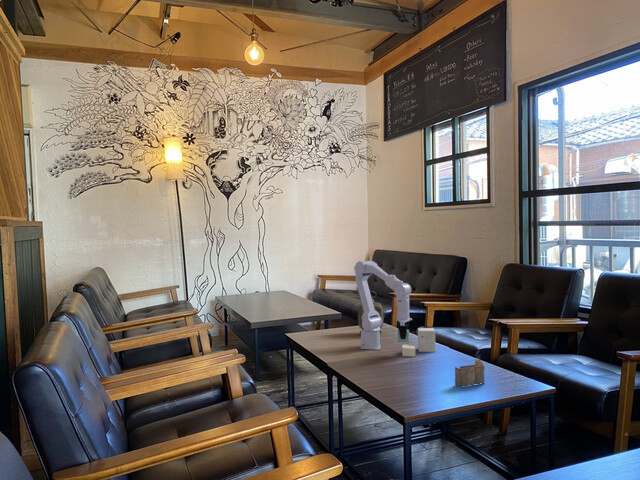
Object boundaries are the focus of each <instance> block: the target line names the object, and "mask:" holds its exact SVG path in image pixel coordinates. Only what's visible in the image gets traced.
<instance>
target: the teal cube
mask: <svg viewBox="0 0 640 480" xmlns="http://www.w3.org/2000/svg"><path fill="white" fill-rule="evenodd" d="M409 341H410V329H407V333H406V338H405V339H401V338H400V333H399V329H398V328H397V342H398V343H406V344H407V343H409Z"/></svg>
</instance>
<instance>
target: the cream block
mask: <svg viewBox="0 0 640 480" xmlns="http://www.w3.org/2000/svg"><path fill="white" fill-rule="evenodd" d="M401 349H402V354H401V356H402V357H416V345H415V344H402V347H401Z"/></svg>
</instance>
